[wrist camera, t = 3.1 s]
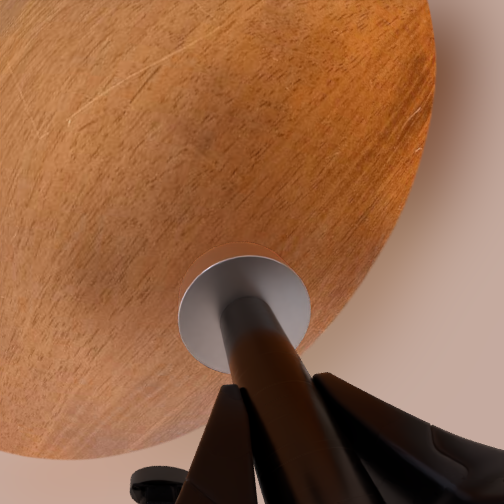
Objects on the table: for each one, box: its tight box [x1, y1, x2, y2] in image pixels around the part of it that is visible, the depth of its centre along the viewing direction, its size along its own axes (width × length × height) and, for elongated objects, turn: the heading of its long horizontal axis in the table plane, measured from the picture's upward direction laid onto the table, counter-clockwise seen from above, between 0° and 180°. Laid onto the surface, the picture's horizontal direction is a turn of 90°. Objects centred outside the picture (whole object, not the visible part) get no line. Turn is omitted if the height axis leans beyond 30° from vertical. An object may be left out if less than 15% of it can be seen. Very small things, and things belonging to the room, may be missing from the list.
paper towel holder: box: [178, 242, 387, 504], centre depth 8 cm, size 5×5×11 cm
